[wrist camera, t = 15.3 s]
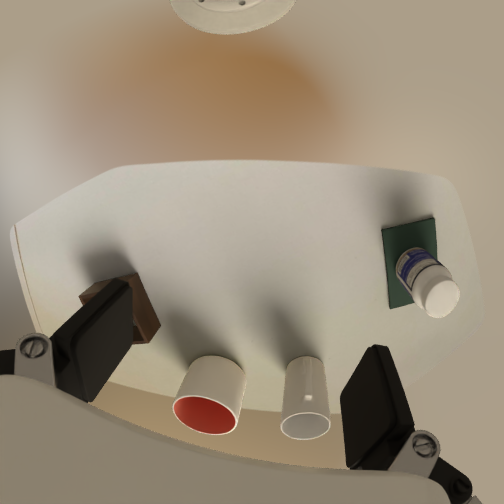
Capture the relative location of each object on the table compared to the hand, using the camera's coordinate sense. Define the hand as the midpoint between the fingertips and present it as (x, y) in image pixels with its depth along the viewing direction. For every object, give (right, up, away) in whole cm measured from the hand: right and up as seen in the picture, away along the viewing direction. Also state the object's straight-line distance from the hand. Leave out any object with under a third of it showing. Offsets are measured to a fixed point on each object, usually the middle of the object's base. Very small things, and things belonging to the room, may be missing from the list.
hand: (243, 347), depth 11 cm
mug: (+9, -14, +34) cm, 37 cm away
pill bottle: (+22, +2, +25) cm, 34 cm away
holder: (-20, -5, +34) cm, 40 cm away
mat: (+22, +2, +26) cm, 34 cm away
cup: (-5, -17, +37) cm, 41 cm away
